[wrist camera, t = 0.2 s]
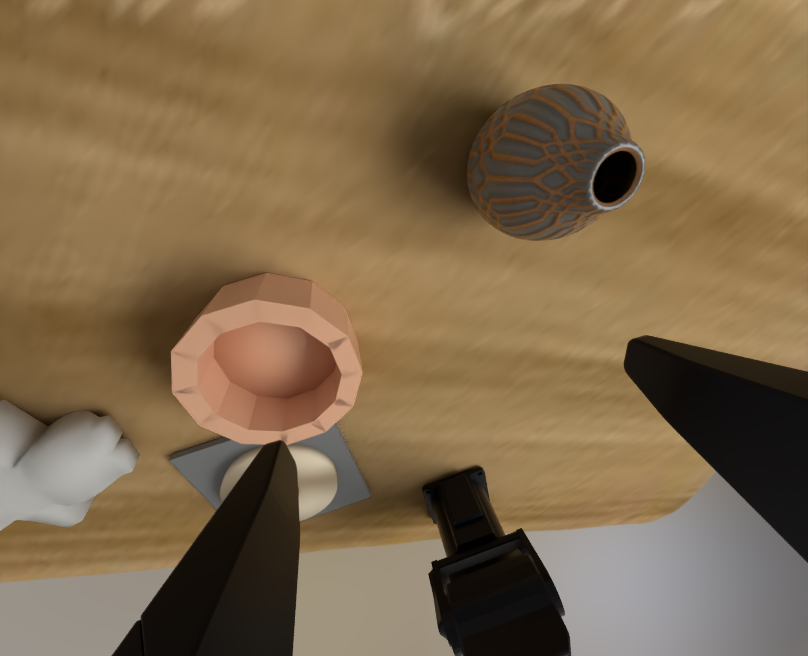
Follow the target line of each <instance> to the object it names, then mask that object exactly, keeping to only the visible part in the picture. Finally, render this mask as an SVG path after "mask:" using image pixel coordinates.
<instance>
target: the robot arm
mask: <svg viewBox="0 0 808 656" xmlns="http://www.w3.org/2000/svg"><path fill="white" fill-rule="evenodd" d="M624 369H625V371H626V373H627V374H628V376H629V377H630V378H631V379H632V380H633V382H634V383H635V384H636V385H637V386H638V388H639V389H640V390H641V391H642V392H643V394H644V395H645V396H646V397H647V399H648V400H649V401H650V402H651V403H652V405H653V406H654V407H655V408H656V409H657V411H658V412H659V413H660V414H661V415H662V416H663V418H664V419H665V420H666V421H667V422H668V423H669V424H670V425H671V426H672V427H673V428H674V429H675V430H676V431H677V432H678V433H679V434H680V435H681V436H682V437H683V438H684V439H685V440H686V441H687V442H688V443H689V444H690V445H691V446H692V447H693V448H694V449H695V450H696V451H697V452H698V453H699V454H700V455H701V456H702V457H703V458H704V459H705V460H706V461H707V462H708V463H709V464H710V465H711V466H712V467H713V468H714V469H715V470H716V471H717V472H718V473H719V474H720V475H721V476H722V477H723V478H724V479H725V480H726V481H727V482H728V483H729V484H730V485H731V486H732V487H733V488H734V489H735V490H736V491H737V492H738V493H739V494H740V495H741V496H742V497H743V498H744V499H745V500H746V501H747V502H748V503H749V505H750V506H752V508H754V510H755V511H756V512H758V513H759V515H761V517H762V518H763V519H765V521H766V522H767V523H768V524H769V525H771V527H772V528H773V529H775V531H776V532H777V533H779V535H780V536H781V537H782V538H784V540H785V541H786V542H787V543H788V544H790V546H791V547H792V548H793V549H794V550H796V552H798V554H799V555H800V556H801V557H802V558H803V559H804V560H805V561H806V562H807V563H808V372H807V371H802V370H798V369H794V368H789V367H785V366H781V365H776V364H772V363H767V362H763V361H759V360H754V359H750V358H745V357H741V356H737V355H732V354H728V353H723V352H719V351H715V350H710V349H706V348H701V347H697V346H693V345H688V344H684V343H679V342H675V341H671V340H666V339H662V338H657V337H653V336H648V335H645V336H641V337H637V338H634V339H631V340H630V341H629V342H628V345H627V350H626V355H625V360H624ZM422 491H423V495H424V498H425V500H426V503H427V506H428V509H429V511H430V514H431V517H432V520H433V523H434V524H437V525H438V529H439V532H440V536H441V539H442V542H443V546H444V549H445V552H446V556H447V557H446V558H444V559H441V560H439V561H437V560H435V561H433V562H431V563H432V568H433V569H432V571H431V572H430V573H429V574H428V575H429V579H430V584H431V587H432V592H433V597H434V603H435V611H436V618H437V625H438V629H439V632H440V635H442V636H443V637H444V638H446V639H447V640H448V642H449V645H450V647H451V646H452V649H453V652H454V654H455V656H571V648H570V636H569V633H568V630H567V628H566V626H565V624H564V622H563V620H562V618H561V617H562V616H564V615H565V611H564V608H563V605H562V602H561V599H560V597H559V594H558V592H557V590H556V587H555V586H554V583H553V581H552V579H551V577H550V575H549V573H548V571H547V570H546V568H545V566H544V565H543V563H542V561H541V560H540V558H539V556H538V555H537V553H536V551H535V550H534V548H533V546H532V545H531V543H530V541H529V540H528V538H527V536H526V535H525V533H524V531H523V530H522V528H520V529H517V530H516V531H515V532H513V533H510V534H508V535H505V533H504V531H503V529H502V527H501V525H500V523H499V520H498V518H497V516H496V514H495V512H494V510H493V507H492V505H491V503H490V500H489V494H488V489H487V483H486V477H485V472H484V470H483V468H482V467H478V468H475V469H472V470H469V471H466V472H464V473H461V474H458V475H455V476H452V477H449V478H446V479H444V480H441V481H438V482H435V483H432V484H429V485H426V486H424V487H423V488H422ZM299 548H300V519H299V497H298V474H297V466H296V462H295V460H294V458H293V456H292V454H291V453H290V451H289V449H288V447H287V445H286V443H285V442H284V441H283V440H277V441H274V442H270V443H267V444H265V445H264V446H263V447H262V448H261V450H260V451H259V452H258V454H257V455H256V456H255V458H254V459H253V461H252V462H251V463H250V465H249V466H248V468H247V469H246V470H245V472H244V473H243V474H242V476H241V477H240V479H239V480H238V481H237V483H236V484H235V486H234V487H233V488H232V490H231V491H230V493H229V494H228V495H227V497H226V498H225V499H224V501H223V502H222V504H221V505H220V506H219V508H218V509H217V511H216V512H215V513H214V515H213V516H212V518H211V519H210V520H209V522H208V523H207V524H206V526H205V527H204V529H203V530H202V531H201V533H200V534H199V536H198V537H197V538H196V540H195V541H194V542H193V544H192V545H191V547H190V548H189V549H188V551H187V552H186V554H185V555H184V556H183V558H182V559H181V561H180V562H179V563H178V565H177V566H176V567H175V569H174V570H173V572H172V573H171V574H170V576H169V578H168V579H167V580H166V581H165V583H164V584H163V586H162V587H161V588H160V590H159V591H158V593H157V594H156V595H155V597H154V598H153V599H152V601H151V602H150V604H149V605H148V606H147V608H146V609H145V611H144V612H143V613H142V615H141V620H139V621H137V622H136V623H135V624H134V625H133V627H132V628H131V630H130V631H129V633H128V634H127V635H126V637H125V638H124V640H123V641H122V642H121V644H120V645H119V646H118V648H117V649H116V651H115V652H114V653H113V655H112V656H292V655H293V641H294V625H295V610H296V594H297V579H298V563H299V562H298V561H299Z"/></svg>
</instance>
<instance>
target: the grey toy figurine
mask: <svg viewBox="0 0 808 656" xmlns="http://www.w3.org/2000/svg"><path fill="white" fill-rule="evenodd" d="M122 433H123V431H122V430H121V428H120V427H119V426H118V424H117V423H116V422H115V420H114V419H113V418H112V416H111V415H107V416H103V417H98V416H97V415H95V414H93V413H91V412H90V411H76V412H73V413H70V414H67V415H64V416H62V417H61V418H59V419H58V420H56V421H55V422H54V423H52V424H51V425H49V426H47V425H45V424H43V423H42V422H40V421H38V420H37V419H35V418H33V417H32V416H30V415H29V414H27V413H25V412H24V411H22V410H21V409H19V408H17V407H16V406H14V405H13V404H11V403H10V402H8V401H6V400H0V531H1V530H2V529H3V528H5V527H6V526H8V525H9V524H11V523H12V522H14V521H15V520H25V521H35V522H40V523H46V524H51V525H57V526H62V527H70V526H72V525H74V524H77V523H79V522H81V521H82V520H83V518H84V517H85V515H86V513H87V511H88V509H89V507H90V505H91V503H92V501H93V500H94V498H95V495H97V494H98V493H100V492H102V491H103V490H104V489H106V488H107V487H108V486H109V485H111V484H112V483H113V482H114V481H116V480H117V479H118V478H119V477H120V476H122V475H124V474H127V473H130V472H132V471H133V469H134V467H135V464H136V462H137V460H138V458H139V456H140V454H139V452H138V451H137V450H136V448H135V447H134V446H133V444H132V443H131V442H130V440H129V439H121V438H120V437H121V435H122Z"/></svg>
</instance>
